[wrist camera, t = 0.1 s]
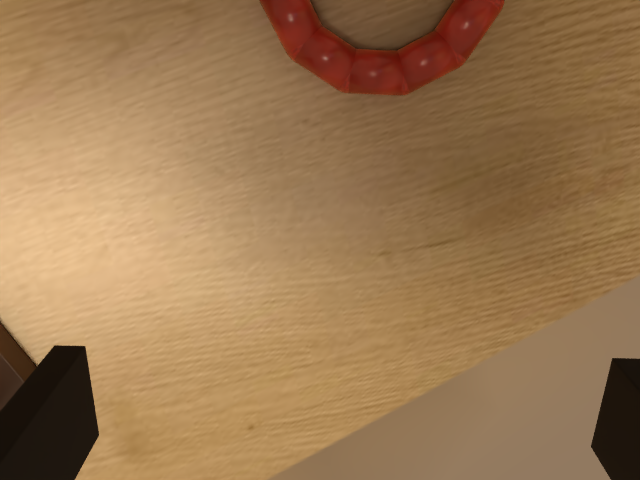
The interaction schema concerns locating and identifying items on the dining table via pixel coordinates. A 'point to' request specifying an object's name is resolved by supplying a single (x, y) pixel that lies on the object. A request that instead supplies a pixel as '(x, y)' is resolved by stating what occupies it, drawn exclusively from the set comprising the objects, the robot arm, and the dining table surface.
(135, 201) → the dining table surface
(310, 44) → the ring
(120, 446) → the dining table surface
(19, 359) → the stand
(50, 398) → the robot arm
